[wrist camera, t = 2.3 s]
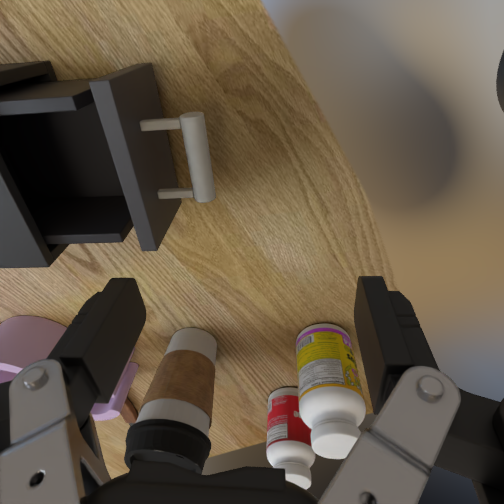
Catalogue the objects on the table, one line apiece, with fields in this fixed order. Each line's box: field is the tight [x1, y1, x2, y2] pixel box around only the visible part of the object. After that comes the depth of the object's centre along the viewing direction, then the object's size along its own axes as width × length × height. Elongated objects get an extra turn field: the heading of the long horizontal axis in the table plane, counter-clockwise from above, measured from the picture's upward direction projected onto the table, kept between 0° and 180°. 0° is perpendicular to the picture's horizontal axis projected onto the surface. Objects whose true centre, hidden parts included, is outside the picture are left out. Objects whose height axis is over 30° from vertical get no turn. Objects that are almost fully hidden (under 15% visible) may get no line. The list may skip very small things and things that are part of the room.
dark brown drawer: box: [0, 63, 216, 251], centre depth 26 cm, size 19×11×8 cm, turn 94°
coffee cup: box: [124, 328, 217, 474], centre depth 38 cm, size 8×8×15 cm
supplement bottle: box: [296, 323, 366, 459], centre depth 37 cm, size 7×7×13 cm
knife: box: [120, 397, 138, 426], centre depth 55 cm, size 17×1×3 cm
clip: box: [0, 316, 139, 421], centre depth 44 cm, size 20×12×7 cm, turn 86°
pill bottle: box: [267, 387, 315, 489], centre depth 45 cm, size 6×6×11 cm
